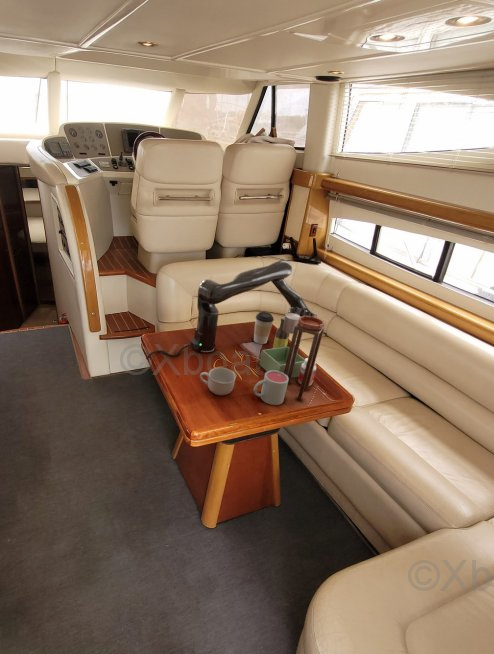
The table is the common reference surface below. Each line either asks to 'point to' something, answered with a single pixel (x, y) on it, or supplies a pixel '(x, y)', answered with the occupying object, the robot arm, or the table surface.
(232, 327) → the table surface
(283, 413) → the table surface
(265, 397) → the mug
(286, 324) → the small saucepan
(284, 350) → the bin
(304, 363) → the pill bottle
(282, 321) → the sauce bottle
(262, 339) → the coffee cup
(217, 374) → the teacup
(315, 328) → the stand
